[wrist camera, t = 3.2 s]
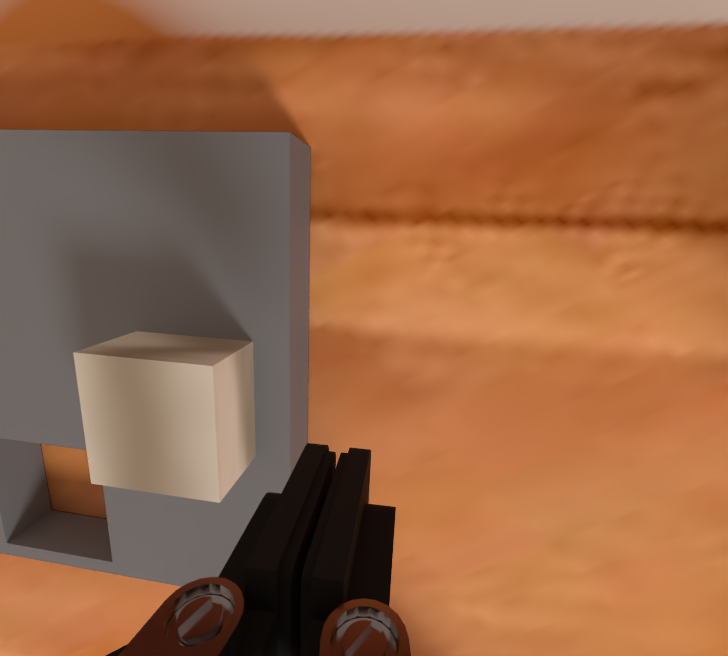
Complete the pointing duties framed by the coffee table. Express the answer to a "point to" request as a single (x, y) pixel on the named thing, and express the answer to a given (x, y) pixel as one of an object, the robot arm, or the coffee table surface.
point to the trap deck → (147, 320)
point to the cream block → (168, 413)
